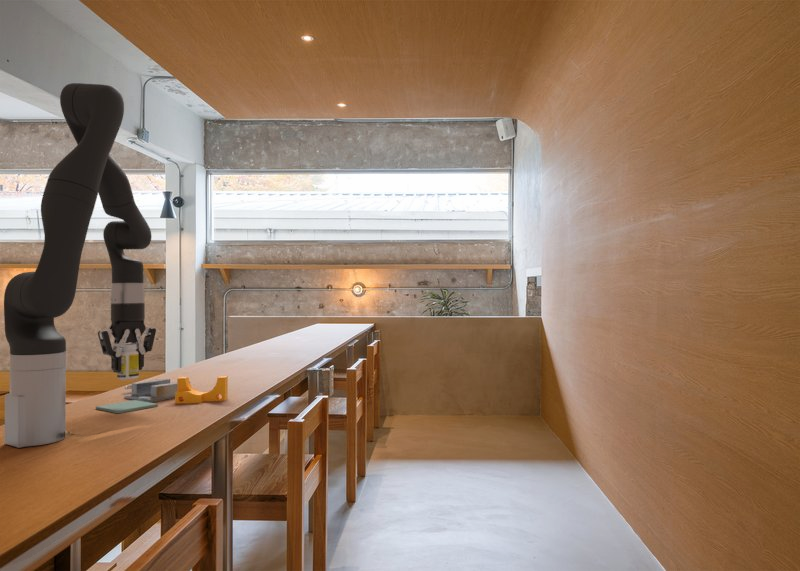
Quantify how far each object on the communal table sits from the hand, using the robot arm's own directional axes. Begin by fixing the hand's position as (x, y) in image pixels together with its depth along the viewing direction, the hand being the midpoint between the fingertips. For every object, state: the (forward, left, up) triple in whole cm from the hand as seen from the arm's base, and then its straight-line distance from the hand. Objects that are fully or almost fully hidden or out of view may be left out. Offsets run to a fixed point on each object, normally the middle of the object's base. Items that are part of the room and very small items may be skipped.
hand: (128, 370), depth 136 cm
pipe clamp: (+14, -9, -9) cm, 20 cm away
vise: (+13, +6, -9) cm, 17 cm away
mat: (0, 0, -9) cm, 9 cm away
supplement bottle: (0, 0, -2) cm, 2 cm away
